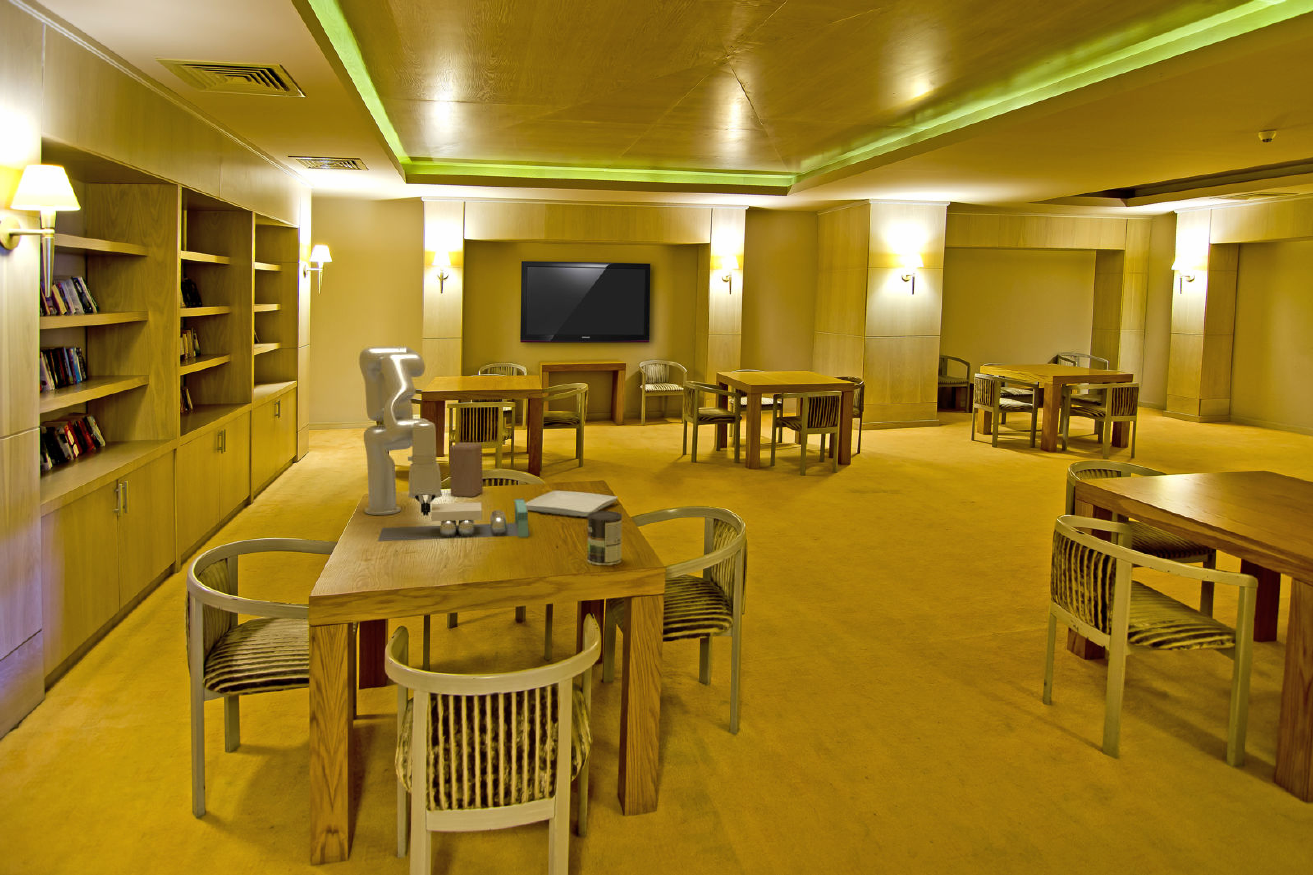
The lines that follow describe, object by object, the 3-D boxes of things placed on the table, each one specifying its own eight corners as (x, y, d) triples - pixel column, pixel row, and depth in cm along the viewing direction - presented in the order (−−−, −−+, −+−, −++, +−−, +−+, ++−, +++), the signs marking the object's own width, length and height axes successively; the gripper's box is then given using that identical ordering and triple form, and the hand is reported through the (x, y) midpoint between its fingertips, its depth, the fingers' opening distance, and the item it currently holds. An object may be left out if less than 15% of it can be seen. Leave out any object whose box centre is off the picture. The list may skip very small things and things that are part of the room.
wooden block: (473, 497, 360) (472, 447, 357) (449, 496, 362) (448, 446, 359) (483, 492, 369) (482, 443, 366) (460, 491, 371) (459, 442, 368)
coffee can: (587, 566, 271) (587, 519, 269) (587, 556, 282) (587, 511, 279) (622, 565, 272) (622, 519, 270) (620, 555, 282) (621, 510, 280)
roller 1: (440, 512, 313) (455, 511, 314) (441, 526, 313) (456, 525, 314) (439, 523, 297) (455, 522, 298) (440, 538, 298) (456, 537, 299)
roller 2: (460, 526, 315) (457, 512, 314) (474, 523, 316) (472, 509, 315) (459, 538, 299) (457, 523, 298) (475, 535, 300) (472, 520, 299)
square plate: (521, 513, 336) (521, 503, 336) (554, 499, 362) (554, 489, 361) (589, 521, 327) (589, 510, 326) (618, 505, 352) (619, 495, 352)
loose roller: (489, 523, 317) (491, 509, 316) (504, 524, 318) (505, 510, 317) (490, 535, 301) (492, 520, 300) (506, 536, 302) (508, 521, 302)
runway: (382, 527, 312) (382, 503, 311) (526, 522, 322) (525, 498, 320) (377, 544, 292) (376, 517, 290) (530, 538, 301) (530, 512, 300)
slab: (432, 512, 310) (432, 504, 310) (481, 511, 313) (480, 502, 313) (431, 521, 298) (431, 512, 298) (481, 519, 302) (481, 510, 301)
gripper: (399, 462, 296) (401, 518, 299) (447, 461, 299) (448, 516, 302) (401, 458, 303) (403, 512, 306) (448, 457, 306) (449, 511, 309)
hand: (425, 514), depth 304 cm, fingers closed
